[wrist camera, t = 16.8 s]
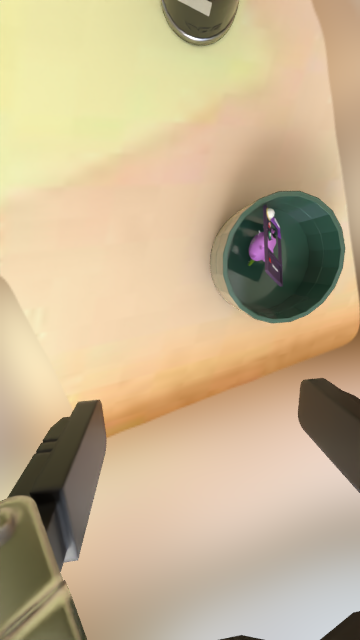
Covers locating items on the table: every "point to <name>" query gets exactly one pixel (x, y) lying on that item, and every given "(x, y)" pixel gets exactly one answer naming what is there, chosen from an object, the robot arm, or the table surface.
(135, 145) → the table surface
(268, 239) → the game card
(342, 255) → the bowl
